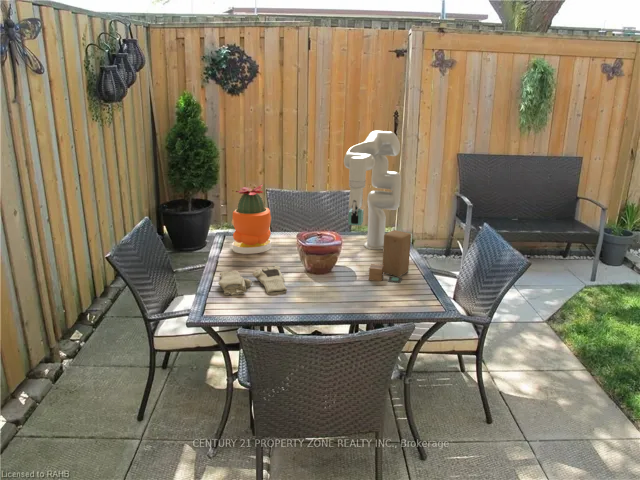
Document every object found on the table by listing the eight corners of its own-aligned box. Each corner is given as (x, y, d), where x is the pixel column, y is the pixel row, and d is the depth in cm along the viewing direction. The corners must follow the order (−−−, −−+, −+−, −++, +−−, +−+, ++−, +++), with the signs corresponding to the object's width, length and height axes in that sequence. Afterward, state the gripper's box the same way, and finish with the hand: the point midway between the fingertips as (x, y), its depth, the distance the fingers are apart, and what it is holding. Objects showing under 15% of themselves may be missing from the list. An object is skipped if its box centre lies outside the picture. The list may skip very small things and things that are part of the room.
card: (389, 277, 258) (389, 276, 258) (401, 278, 256) (402, 277, 256) (387, 281, 252) (387, 280, 252) (400, 283, 251) (400, 282, 251)
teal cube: (350, 220, 255) (351, 208, 253) (363, 221, 254) (363, 209, 252) (348, 224, 250) (348, 211, 248) (361, 225, 248) (361, 212, 246)
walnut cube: (370, 275, 260) (371, 263, 258) (383, 276, 258) (383, 265, 257) (368, 279, 254) (369, 268, 252) (381, 281, 253) (382, 269, 251)
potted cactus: (228, 245, 297) (225, 183, 286) (266, 241, 306) (265, 180, 295) (239, 258, 279) (237, 192, 268) (280, 253, 288) (279, 188, 277)
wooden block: (399, 277, 257) (401, 238, 251) (381, 272, 263) (383, 233, 257) (409, 271, 265) (412, 233, 258) (391, 267, 270) (393, 229, 264)
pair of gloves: (281, 272, 262) (281, 262, 260) (287, 294, 238) (287, 283, 236) (219, 275, 257) (218, 265, 255) (218, 298, 233) (217, 286, 231)
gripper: (352, 179, 254) (351, 215, 260) (345, 187, 239) (344, 226, 244) (368, 180, 253) (366, 217, 259) (362, 188, 237) (360, 227, 243)
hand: (355, 221), depth 251 cm, fingers closed on teal cube, 6 cm apart
